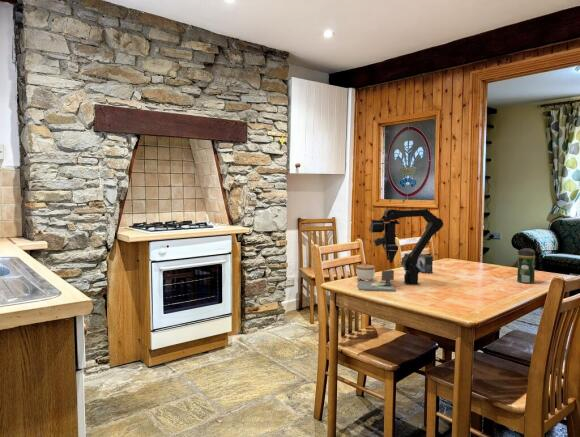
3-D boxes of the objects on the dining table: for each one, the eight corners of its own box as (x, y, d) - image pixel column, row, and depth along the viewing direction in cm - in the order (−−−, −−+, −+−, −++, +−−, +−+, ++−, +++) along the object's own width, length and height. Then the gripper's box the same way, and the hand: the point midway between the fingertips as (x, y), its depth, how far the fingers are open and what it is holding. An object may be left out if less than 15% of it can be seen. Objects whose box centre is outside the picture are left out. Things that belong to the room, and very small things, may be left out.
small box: (412, 271, 260) (412, 254, 260) (420, 270, 263) (421, 253, 262) (424, 273, 251) (425, 256, 250) (432, 273, 254) (433, 256, 253)
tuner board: (391, 283, 223) (391, 281, 223) (396, 291, 205) (396, 289, 205) (357, 282, 225) (357, 280, 225) (359, 290, 207) (359, 288, 207)
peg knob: (389, 283, 217) (390, 269, 217) (394, 285, 213) (395, 270, 213) (368, 285, 212) (369, 271, 211) (373, 287, 208) (373, 272, 208)
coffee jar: (519, 279, 234) (520, 246, 233) (535, 281, 229) (536, 248, 228) (515, 282, 227) (516, 248, 226) (531, 284, 222) (532, 249, 220)
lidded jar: (353, 280, 231) (353, 263, 230) (359, 277, 240) (359, 261, 240) (371, 282, 226) (372, 265, 225) (377, 279, 235) (377, 262, 235)
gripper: (373, 230, 231) (372, 258, 232) (376, 234, 213) (376, 264, 214) (393, 231, 230) (392, 258, 231) (398, 234, 212) (398, 264, 213)
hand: (389, 261), depth 222 cm, fingers open, 9 cm apart
